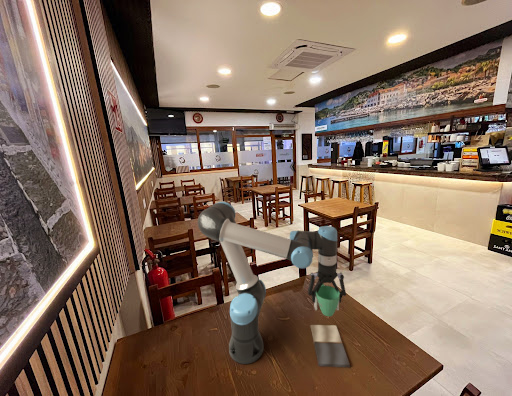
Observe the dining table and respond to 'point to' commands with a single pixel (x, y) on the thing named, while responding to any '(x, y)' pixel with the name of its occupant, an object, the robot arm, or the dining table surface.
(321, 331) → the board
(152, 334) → the dining table surface
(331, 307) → the mug
